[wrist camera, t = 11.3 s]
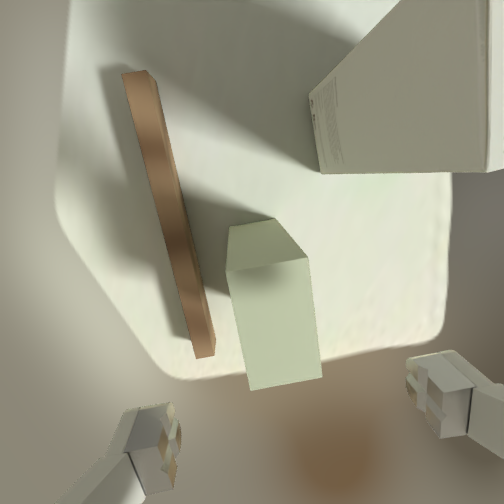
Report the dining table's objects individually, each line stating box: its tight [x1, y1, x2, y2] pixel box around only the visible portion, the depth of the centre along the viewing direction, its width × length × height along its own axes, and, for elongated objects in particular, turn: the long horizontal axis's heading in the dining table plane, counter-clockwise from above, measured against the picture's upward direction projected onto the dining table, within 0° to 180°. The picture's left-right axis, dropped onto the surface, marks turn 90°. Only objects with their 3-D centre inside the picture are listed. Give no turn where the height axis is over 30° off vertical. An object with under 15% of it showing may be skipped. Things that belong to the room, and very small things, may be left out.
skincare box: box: [308, 0, 504, 174], centre depth 15 cm, size 8×7×16 cm
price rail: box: [121, 70, 216, 359], centre depth 23 cm, size 22×2×2 cm, turn 9°
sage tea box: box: [225, 218, 322, 391], centre depth 20 cm, size 7×4×11 cm, turn 10°
